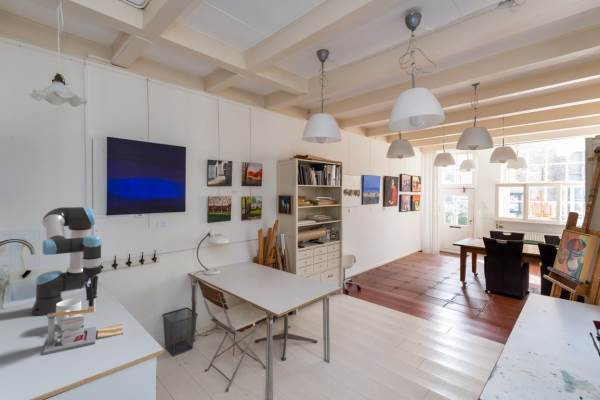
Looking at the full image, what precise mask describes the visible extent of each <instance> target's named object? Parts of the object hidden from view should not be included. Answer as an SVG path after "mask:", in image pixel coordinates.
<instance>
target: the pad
mask: <svg viewBox="0 0 600 400" xmlns="http://www.w3.org/2000/svg"><path fill="white" fill-rule="evenodd" d="M120 334H121V335H123V334H124V330H123V324H116V325H110V326H104V327H100V328H97V340H101V339H105V338H110V337H115V336H120Z"/></svg>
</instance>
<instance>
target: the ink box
mask: <svg viewBox="0 0 600 400" xmlns="http://www.w3.org/2000/svg"><path fill="white" fill-rule="evenodd" d="M59 327H60V328H59V329H60V330H59V331H60V332H59V333H60V338H59V340H60V341H59V342H60V344H61V346H63V345H68V344H72V343H76V342H80V341H82V340H84V339H85V338H84V334H85V333H84V329H85V316H84V315H83V314H80V315H76V316H72V317H68V318H64V319H61V326H59Z"/></svg>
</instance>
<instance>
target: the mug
mask: <svg viewBox="0 0 600 400" xmlns="http://www.w3.org/2000/svg"><path fill="white" fill-rule="evenodd" d="M79 310H82V299H79V298H70V299H65V300H63V301H61V302H59V303H57V304H56V313H60V312H70V311H79ZM76 315H80V314H73V315H64V316H56V317H55V320H56V323H57V324H58V326H59V327H60V326H61V319H64V318H68V317H72V316H76Z"/></svg>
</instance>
